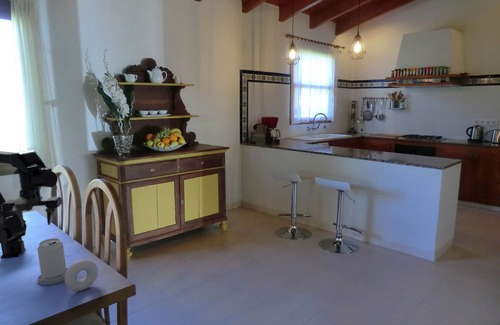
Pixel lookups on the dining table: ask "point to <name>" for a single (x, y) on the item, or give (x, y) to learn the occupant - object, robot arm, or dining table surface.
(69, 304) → the dining table surface
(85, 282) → the donut
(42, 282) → the dish
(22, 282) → the dining table surface
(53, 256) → the can
